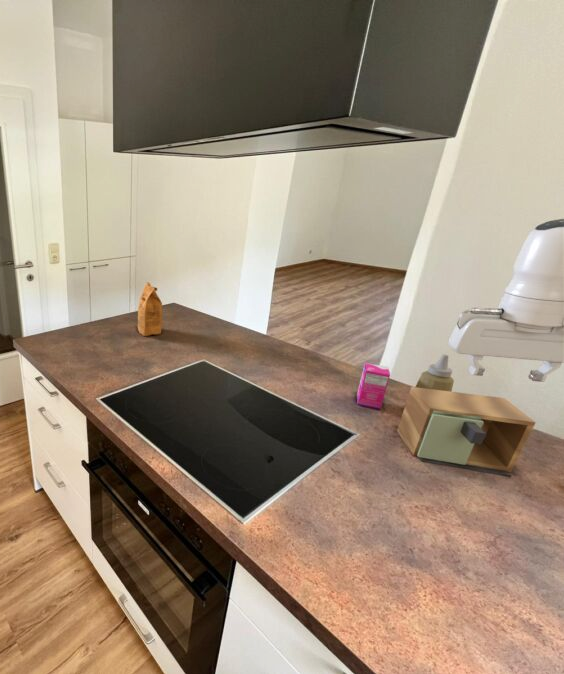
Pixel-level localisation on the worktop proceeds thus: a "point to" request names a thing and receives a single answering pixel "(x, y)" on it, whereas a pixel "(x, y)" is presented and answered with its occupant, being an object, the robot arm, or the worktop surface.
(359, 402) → the supplement box
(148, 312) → the coffee package
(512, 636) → the worktop surface
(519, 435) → the cabinet
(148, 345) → the worktop surface
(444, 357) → the squeeze bottle
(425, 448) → the sliding door
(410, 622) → the worktop surface
